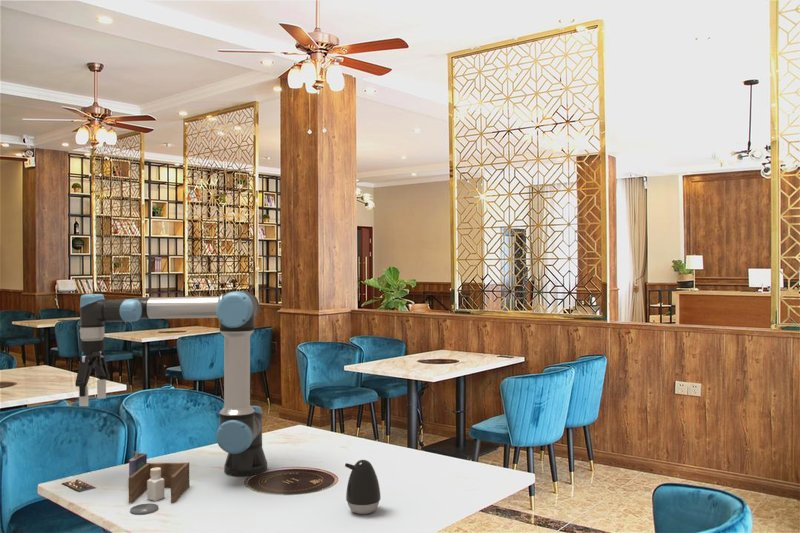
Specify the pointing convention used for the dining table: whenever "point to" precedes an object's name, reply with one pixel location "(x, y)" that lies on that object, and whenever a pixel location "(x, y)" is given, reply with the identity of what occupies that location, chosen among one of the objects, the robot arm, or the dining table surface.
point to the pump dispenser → (362, 488)
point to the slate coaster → (144, 509)
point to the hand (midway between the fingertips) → (93, 402)
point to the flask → (137, 462)
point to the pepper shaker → (155, 485)
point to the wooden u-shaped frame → (170, 472)
